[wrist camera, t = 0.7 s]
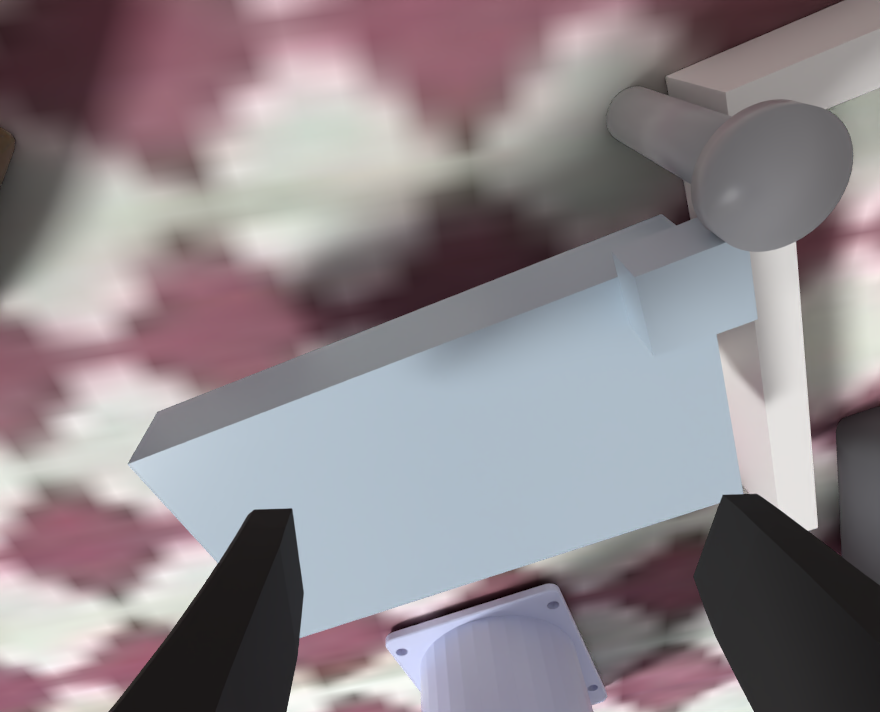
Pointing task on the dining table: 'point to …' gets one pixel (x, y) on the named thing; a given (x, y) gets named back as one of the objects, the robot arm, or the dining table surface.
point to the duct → (774, 272)
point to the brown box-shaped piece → (5, 151)
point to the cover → (510, 397)
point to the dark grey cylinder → (860, 490)
